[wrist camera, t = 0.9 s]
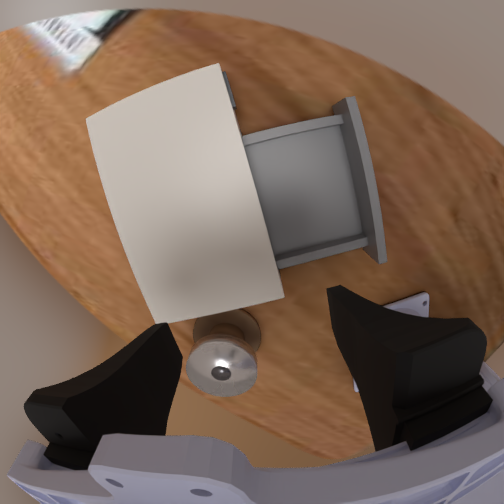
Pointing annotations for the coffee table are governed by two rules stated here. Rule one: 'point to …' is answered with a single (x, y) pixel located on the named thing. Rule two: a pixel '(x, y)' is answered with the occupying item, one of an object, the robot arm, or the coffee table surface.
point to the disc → (222, 365)
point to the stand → (229, 326)
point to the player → (185, 197)
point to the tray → (317, 187)
